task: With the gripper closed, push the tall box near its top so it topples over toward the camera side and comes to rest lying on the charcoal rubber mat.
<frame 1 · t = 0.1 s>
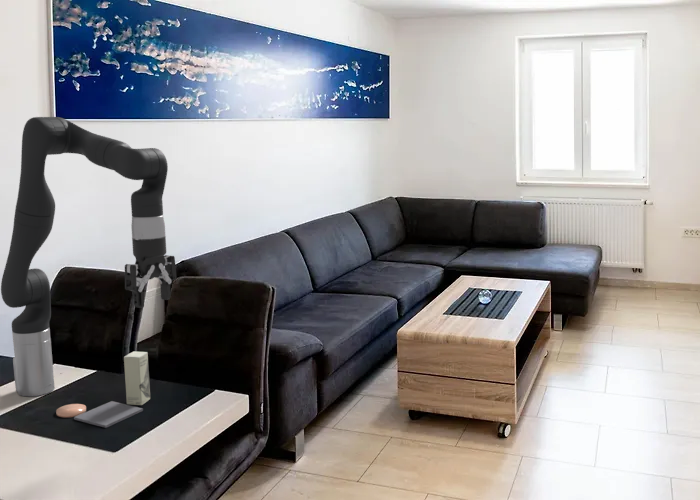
hand: (152, 303, 176), 29 cm above the table, fingers open, 8 cm apart
mat: (109, 415, 185), on the table
glossy peach dome: (71, 412, 187), on the table
box: (138, 402, 193), on the table
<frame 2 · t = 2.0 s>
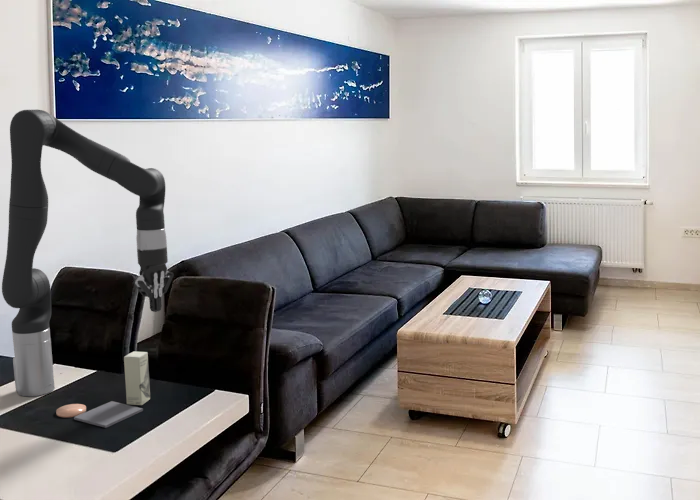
hand: (155, 311, 196), 22 cm above the table, fingers closed
nothing on the table moved.
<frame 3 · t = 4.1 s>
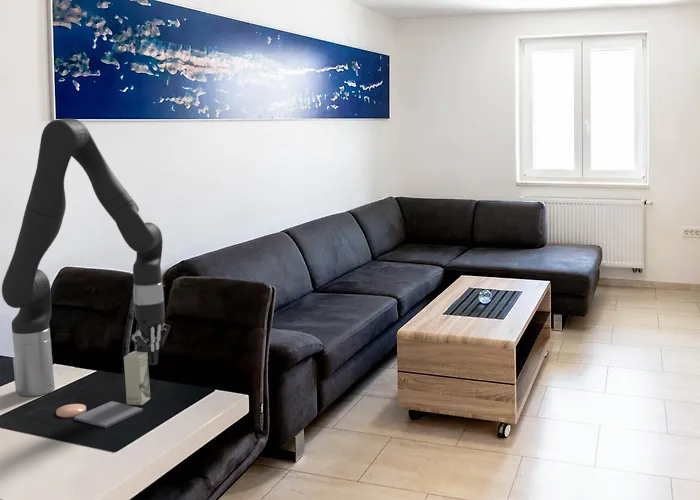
hand: (152, 364, 197), 8 cm above the table, fingers closed
box: (138, 402, 193), on the table, touching gripper
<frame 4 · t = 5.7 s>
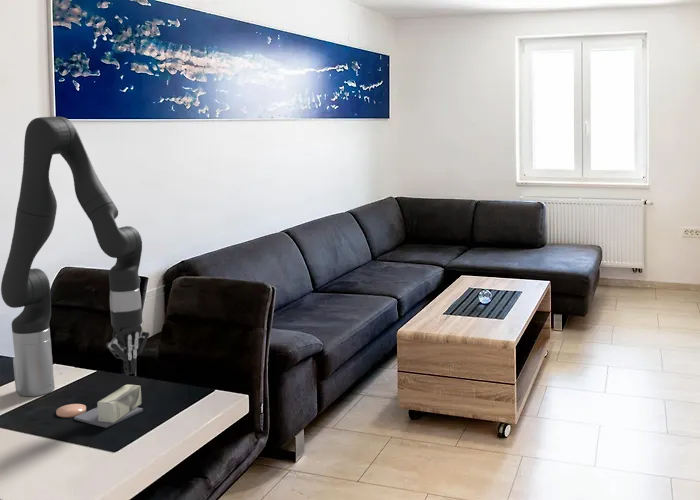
hand: (130, 372, 190), 8 cm above the table, fingers closed
box: (134, 393, 190), point 3 cm above the table, touching mat
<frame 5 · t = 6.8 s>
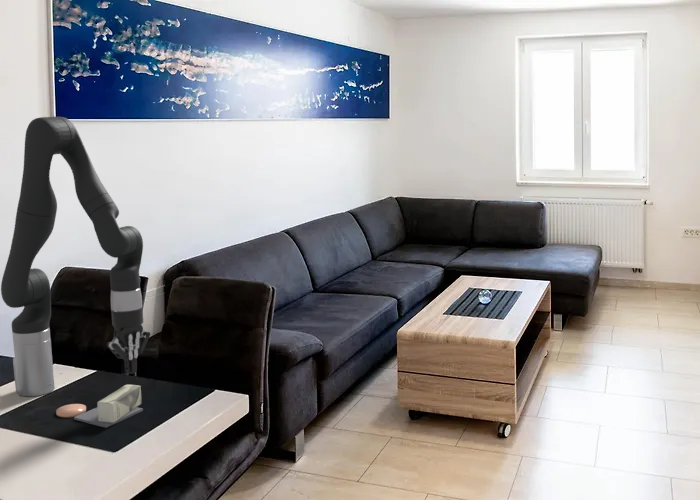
hand: (131, 372, 190), 9 cm above the table, fingers closed
nothing on the table moved.
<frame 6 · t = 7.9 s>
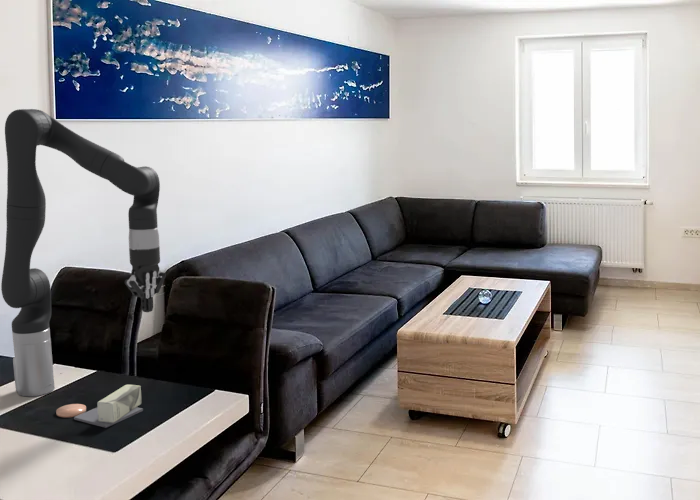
hand: (147, 311, 194), 23 cm above the table, fingers closed
nothing on the table moved.
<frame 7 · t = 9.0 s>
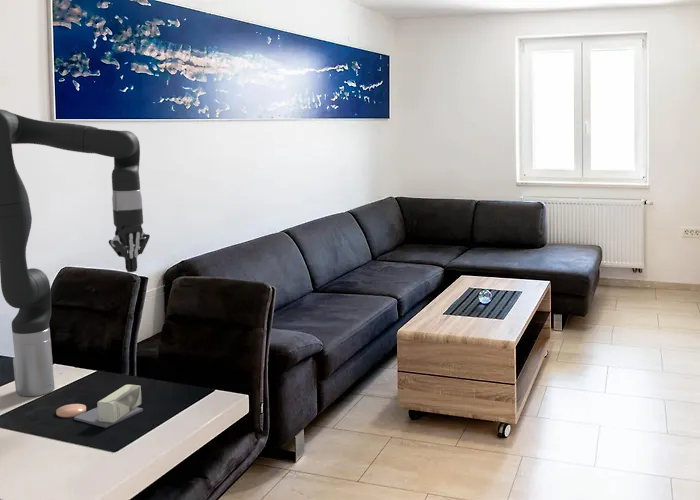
hand: (131, 271, 200), 32 cm above the table, fingers closed
nothing on the table moved.
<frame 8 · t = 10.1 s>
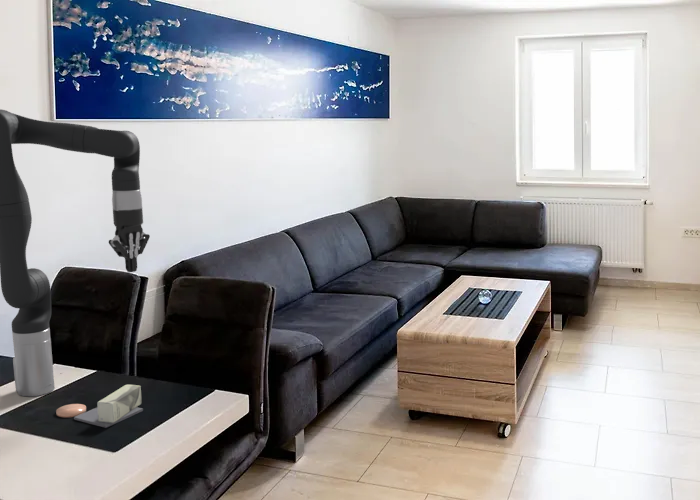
hand: (131, 271, 200), 32 cm above the table, fingers closed
nothing on the table moved.
at the end: box tilted 91°; box inside the target area (4.9 cm from its centre), point 3.3 cm above the table; the gripper is holding nothing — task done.
